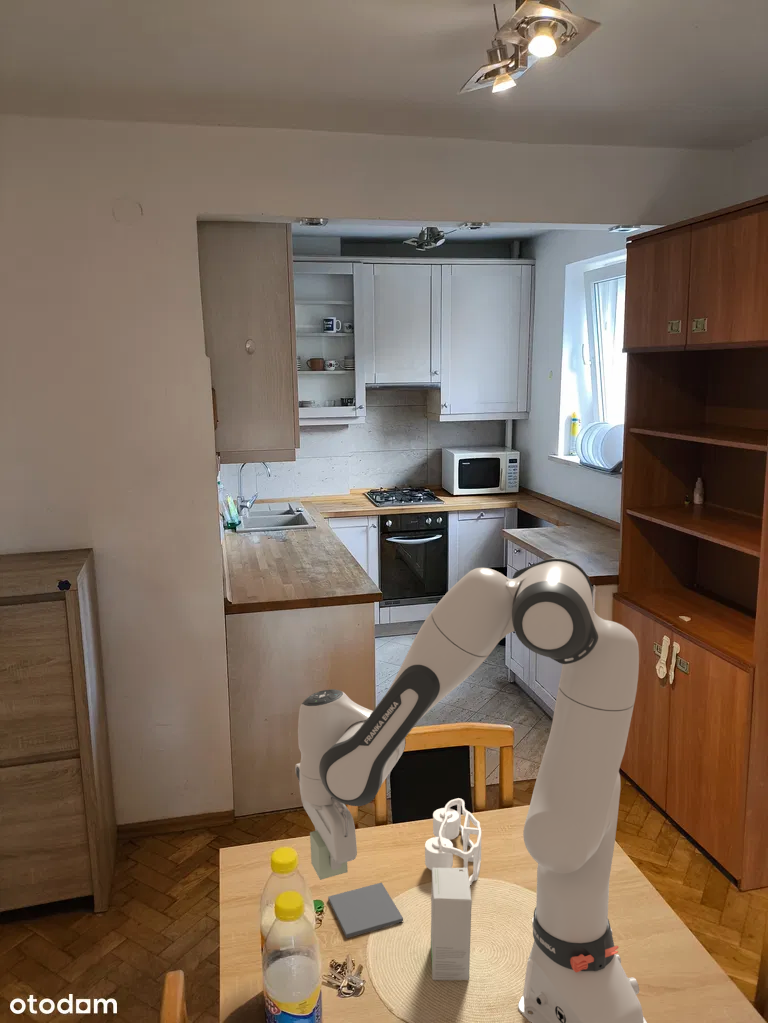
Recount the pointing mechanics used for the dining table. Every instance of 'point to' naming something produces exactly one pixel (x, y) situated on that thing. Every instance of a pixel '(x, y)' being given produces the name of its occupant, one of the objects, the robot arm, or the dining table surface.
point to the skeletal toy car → (448, 828)
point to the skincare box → (450, 924)
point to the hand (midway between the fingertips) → (329, 856)
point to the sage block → (323, 858)
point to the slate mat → (364, 910)
